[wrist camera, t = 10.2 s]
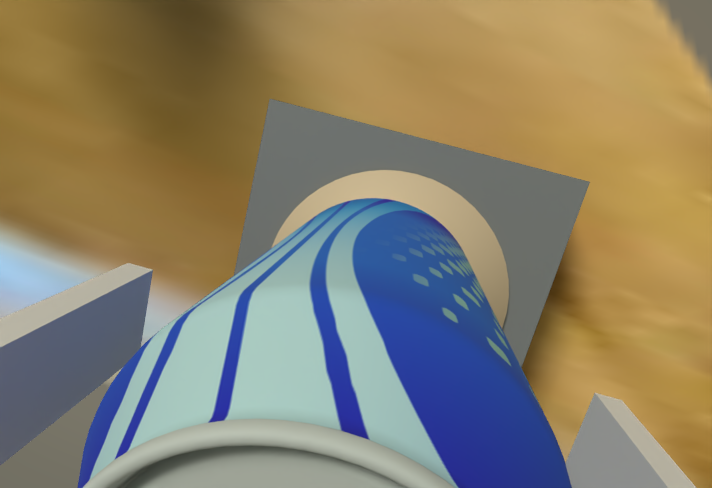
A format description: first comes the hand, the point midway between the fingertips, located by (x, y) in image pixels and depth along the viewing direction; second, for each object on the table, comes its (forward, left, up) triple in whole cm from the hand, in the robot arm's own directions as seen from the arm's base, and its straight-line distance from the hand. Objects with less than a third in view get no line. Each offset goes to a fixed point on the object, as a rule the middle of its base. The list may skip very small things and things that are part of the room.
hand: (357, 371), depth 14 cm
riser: (0, 0, -13) cm, 13 cm away
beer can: (0, 0, -8) cm, 8 cm away
